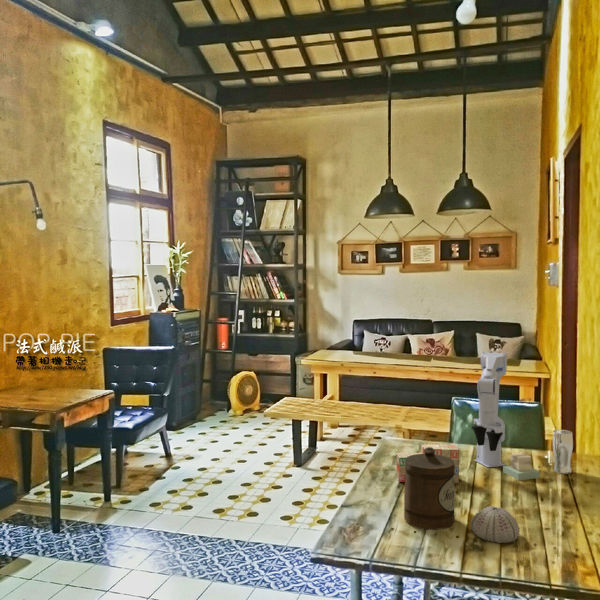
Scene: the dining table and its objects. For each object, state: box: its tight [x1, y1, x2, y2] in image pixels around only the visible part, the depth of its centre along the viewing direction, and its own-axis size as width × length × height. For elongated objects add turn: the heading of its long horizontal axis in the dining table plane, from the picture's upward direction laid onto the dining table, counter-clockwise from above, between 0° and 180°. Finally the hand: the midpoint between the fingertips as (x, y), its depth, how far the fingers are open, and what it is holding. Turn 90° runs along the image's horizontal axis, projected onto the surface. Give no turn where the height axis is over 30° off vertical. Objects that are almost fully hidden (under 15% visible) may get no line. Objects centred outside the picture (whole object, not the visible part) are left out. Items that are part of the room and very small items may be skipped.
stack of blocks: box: [396, 443, 460, 484], centre depth 221 cm, size 21×6×12 cm, turn 89°
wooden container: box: [403, 447, 456, 530], centre depth 184 cm, size 15×15×22 cm
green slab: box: [502, 464, 540, 481], centre depth 226 cm, size 9×9×3 cm
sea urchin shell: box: [469, 505, 521, 544], centre depth 173 cm, size 13×14×8 cm
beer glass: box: [552, 429, 574, 475], centre depth 230 cm, size 7×7×15 cm
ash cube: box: [510, 452, 532, 471], centre depth 225 cm, size 5×5×5 cm
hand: (486, 447), depth 225 cm, fingers open, 7 cm apart
